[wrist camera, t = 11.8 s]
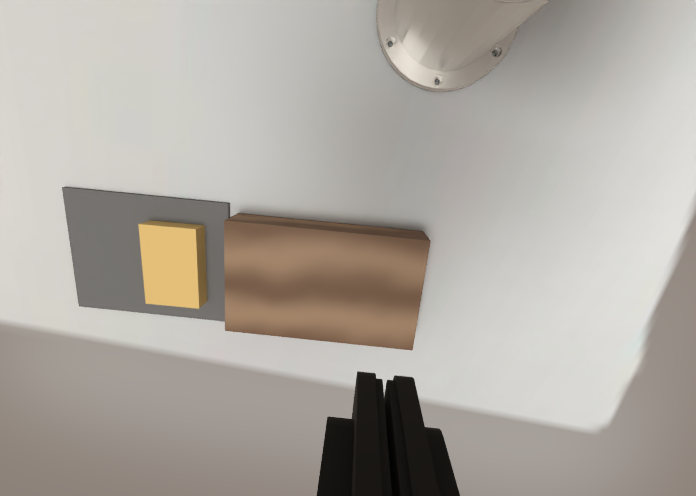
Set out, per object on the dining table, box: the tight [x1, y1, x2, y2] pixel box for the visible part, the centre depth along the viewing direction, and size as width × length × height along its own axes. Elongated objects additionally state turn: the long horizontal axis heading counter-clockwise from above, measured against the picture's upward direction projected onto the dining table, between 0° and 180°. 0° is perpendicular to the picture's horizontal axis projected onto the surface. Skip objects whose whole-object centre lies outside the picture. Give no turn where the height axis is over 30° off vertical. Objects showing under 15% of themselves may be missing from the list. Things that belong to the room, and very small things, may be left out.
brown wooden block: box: [224, 213, 430, 350], centre depth 36 cm, size 12×20×4 cm, turn 85°
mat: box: [62, 187, 230, 321], centre depth 38 cm, size 14×18×1 cm
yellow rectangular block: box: [138, 220, 207, 309], centre depth 37 cm, size 9×6×2 cm, turn 175°
